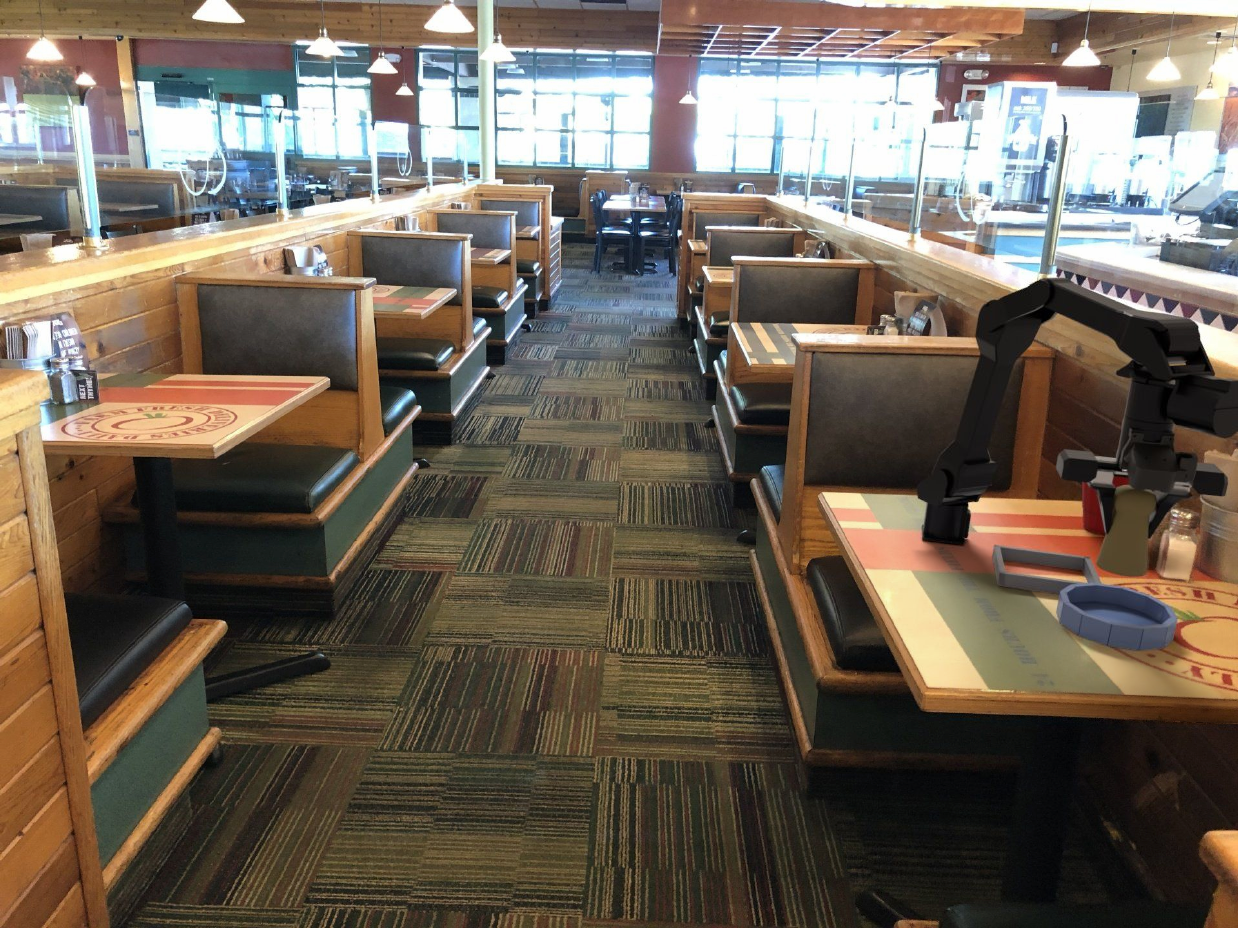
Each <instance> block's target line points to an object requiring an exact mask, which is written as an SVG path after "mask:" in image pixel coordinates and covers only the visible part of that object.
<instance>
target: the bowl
mask: <svg viewBox="0 0 1238 928" xmlns="http://www.w3.org/2000/svg"><path fill="white" fill-rule="evenodd" d="M1055 610H1056V611H1055V613H1056V615H1057V618H1058V622H1059V624H1061V625H1062V626H1063V627H1065V628H1066V629H1068V630H1070V632H1072V633H1074V634H1075V635H1077V636H1078V637H1081V638H1084V639H1086V640H1089V641H1093V642H1095V643H1098V644H1101V645H1104V646H1106V647H1110V648H1111V647H1112V648H1113V647H1114V648H1119V649H1126V650H1133V651H1139V652H1140V651H1149V650H1160V649H1165V647H1167V646H1168V645H1169V644H1170V643H1171V642H1172V641H1174V637H1175V632H1176V628H1177V623H1178V620H1179V618H1178V616H1177V615H1176V612H1175V611H1174V610H1173V608H1172V606H1170V605H1169V604H1167V603H1165V602H1163V601H1162V600H1160V599H1158V598H1156V597H1154V596H1153V595H1151V594H1147V593H1144V592H1141V591H1138V590H1135V589H1132V588H1128V587H1125V586H1121V585H1115V584H1113V585H1112V584H1106V583H1102V584H1100V583H1088V582H1085V583H1082V584H1071V585H1069V586H1068V587H1066V588H1064V589H1063V590H1061V591H1060V594H1058V599H1057V605H1056V609H1055Z"/></svg>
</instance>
